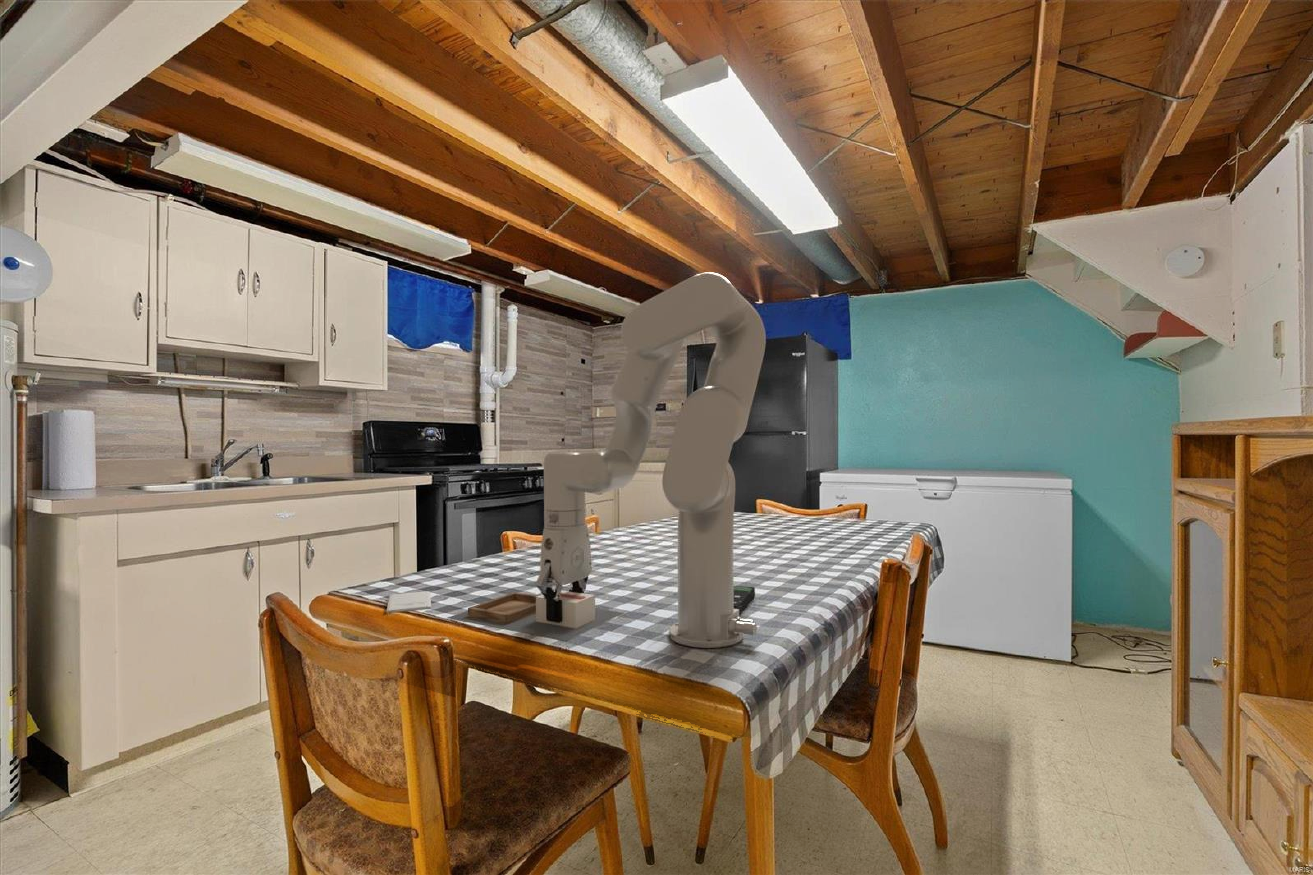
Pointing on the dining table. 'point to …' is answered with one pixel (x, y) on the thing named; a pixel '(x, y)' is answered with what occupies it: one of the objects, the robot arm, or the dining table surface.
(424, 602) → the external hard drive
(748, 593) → the disk drive
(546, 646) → the dining table surface
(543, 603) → the block
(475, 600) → the dining table surface
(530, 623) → the mat
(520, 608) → the tray
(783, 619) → the dining table surface
